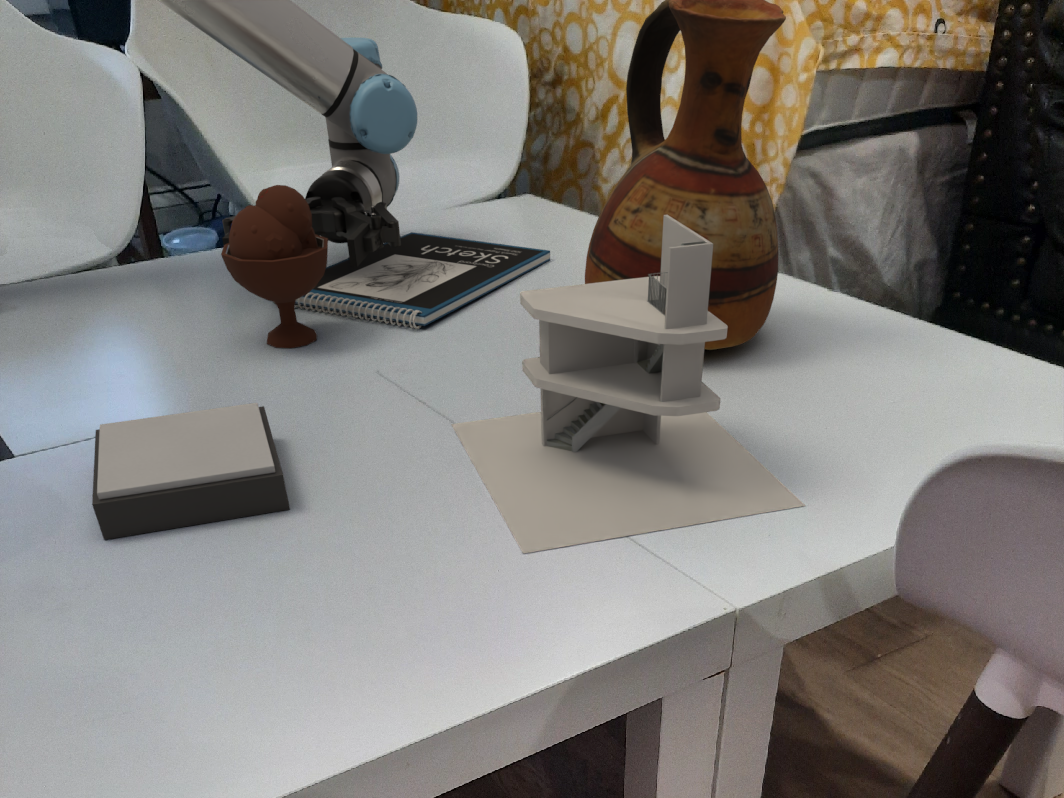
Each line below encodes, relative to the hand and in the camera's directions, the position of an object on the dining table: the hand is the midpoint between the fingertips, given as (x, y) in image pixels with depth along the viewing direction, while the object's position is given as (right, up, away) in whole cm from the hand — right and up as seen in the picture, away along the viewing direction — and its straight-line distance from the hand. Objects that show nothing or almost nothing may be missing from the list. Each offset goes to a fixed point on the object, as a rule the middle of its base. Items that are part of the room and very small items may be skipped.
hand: (289, 252), depth 107 cm
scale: (-2, -30, -24) cm, 39 cm away
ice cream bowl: (0, -8, +2) cm, 9 cm away
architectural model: (+33, -28, -22) cm, 49 cm away
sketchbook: (+11, +4, +17) cm, 21 cm away
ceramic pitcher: (+41, -9, +1) cm, 42 cm away
